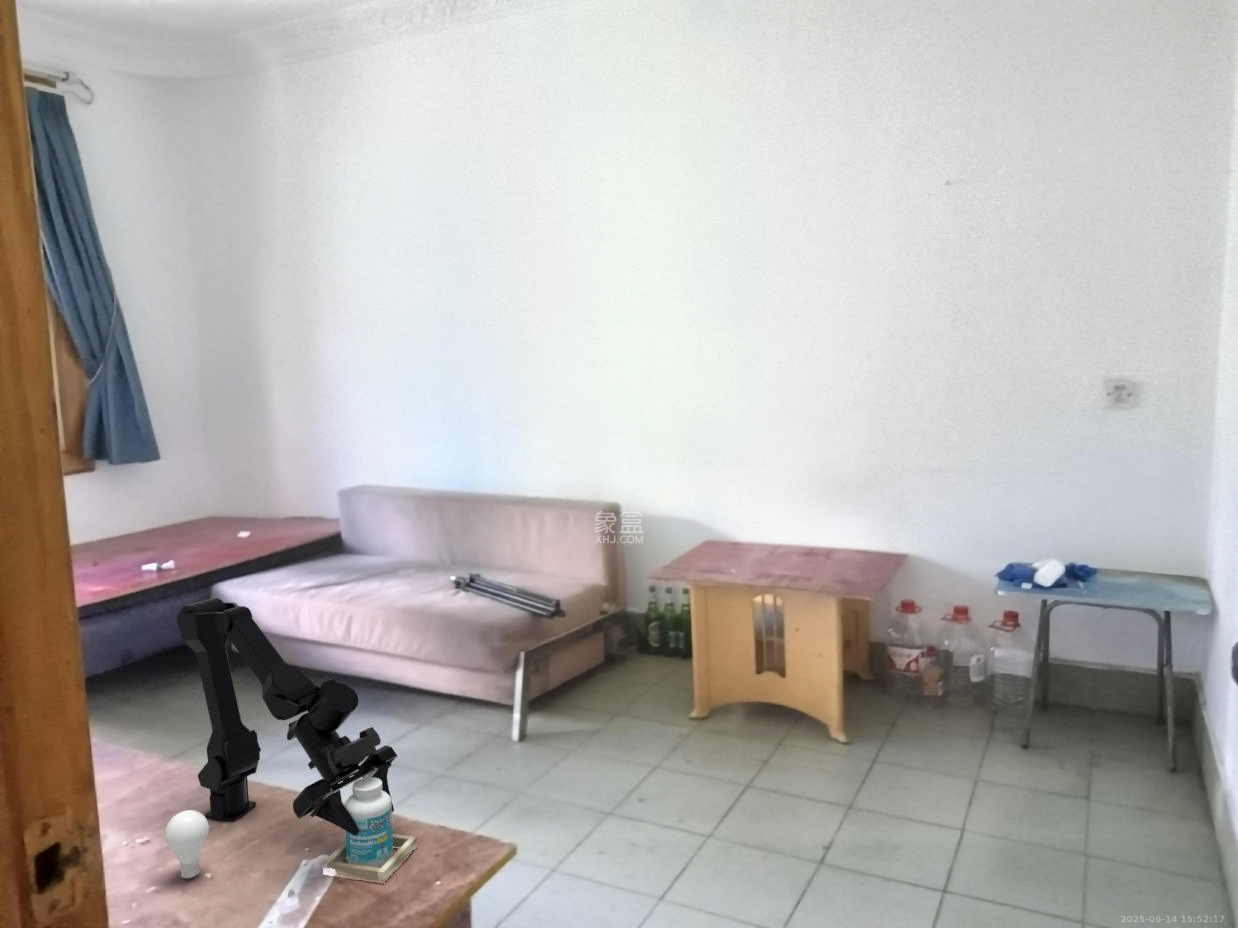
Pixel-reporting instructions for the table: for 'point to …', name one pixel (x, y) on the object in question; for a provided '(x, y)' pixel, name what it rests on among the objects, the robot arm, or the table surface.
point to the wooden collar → (365, 871)
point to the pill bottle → (370, 824)
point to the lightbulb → (187, 839)
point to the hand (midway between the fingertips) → (375, 822)
